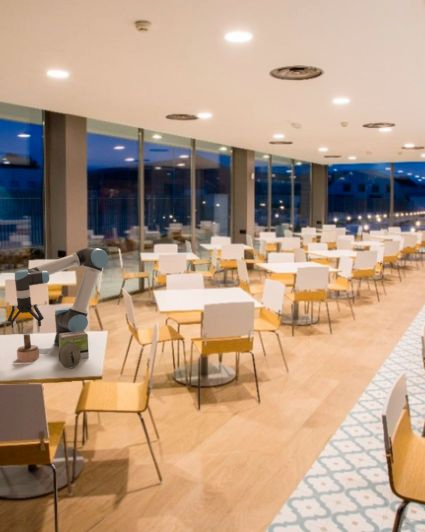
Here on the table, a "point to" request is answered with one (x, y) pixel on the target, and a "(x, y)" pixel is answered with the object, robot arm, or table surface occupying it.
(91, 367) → the table surface
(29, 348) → the lid
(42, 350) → the mat
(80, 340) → the tea box
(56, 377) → the table surface
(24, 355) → the bowl
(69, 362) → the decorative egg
